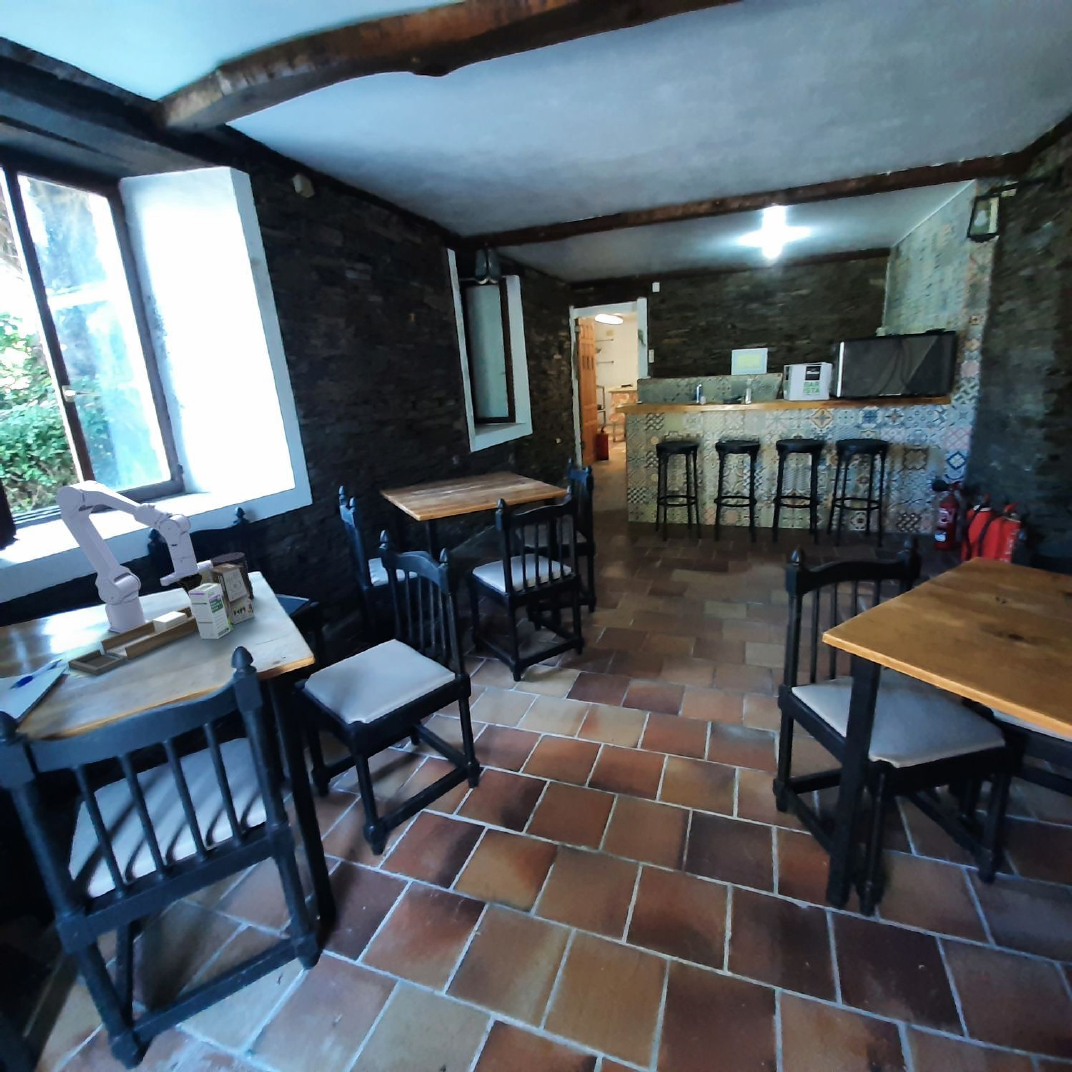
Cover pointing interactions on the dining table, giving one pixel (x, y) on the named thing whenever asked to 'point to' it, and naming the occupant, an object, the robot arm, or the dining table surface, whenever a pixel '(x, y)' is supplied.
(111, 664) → the tray
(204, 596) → the syrup box
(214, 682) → the dining table surface
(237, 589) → the coffee box
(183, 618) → the cream block
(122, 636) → the walled channel
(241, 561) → the storage jar
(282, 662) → the dining table surface
